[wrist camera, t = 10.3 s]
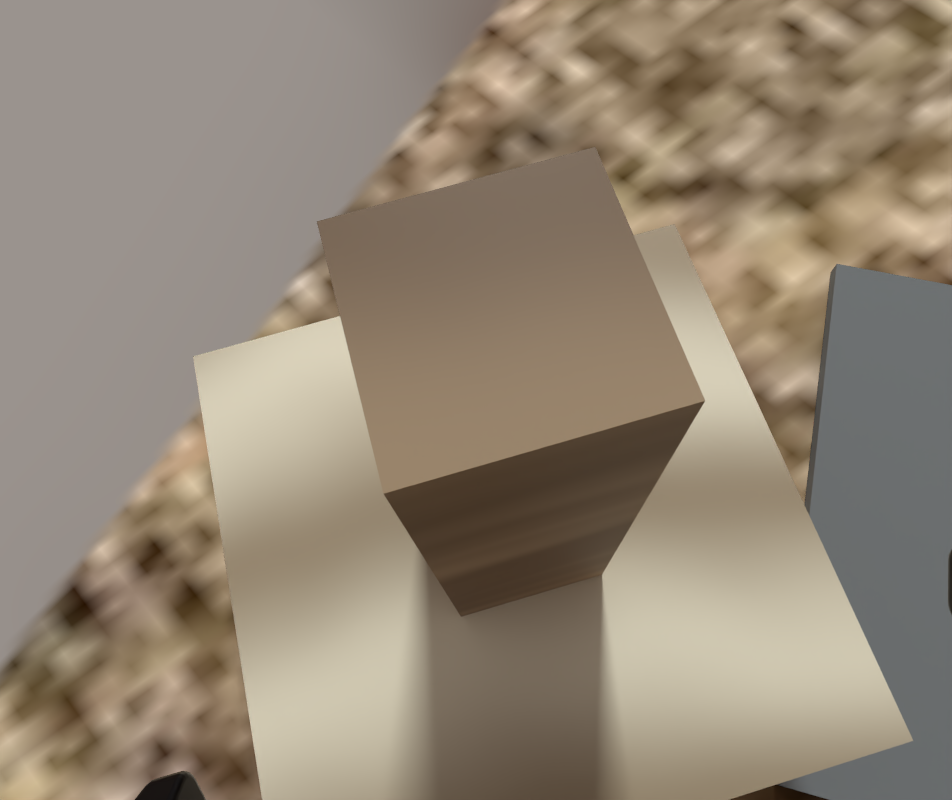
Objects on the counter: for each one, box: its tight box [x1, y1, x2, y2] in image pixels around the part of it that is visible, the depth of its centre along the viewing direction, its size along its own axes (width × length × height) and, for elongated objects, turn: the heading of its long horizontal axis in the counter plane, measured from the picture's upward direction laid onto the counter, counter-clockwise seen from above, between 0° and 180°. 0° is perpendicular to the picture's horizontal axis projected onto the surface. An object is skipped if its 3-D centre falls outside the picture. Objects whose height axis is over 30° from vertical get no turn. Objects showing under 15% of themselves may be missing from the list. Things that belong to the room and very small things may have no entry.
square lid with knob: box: [193, 147, 913, 800], centre depth 12 cm, size 12×12×10 cm
